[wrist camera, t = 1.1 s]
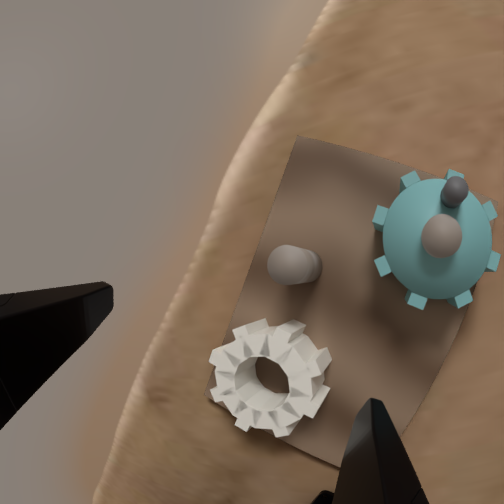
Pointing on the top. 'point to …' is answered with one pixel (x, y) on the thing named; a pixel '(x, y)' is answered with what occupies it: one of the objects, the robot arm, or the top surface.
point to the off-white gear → (251, 389)
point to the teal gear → (410, 245)
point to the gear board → (346, 292)
